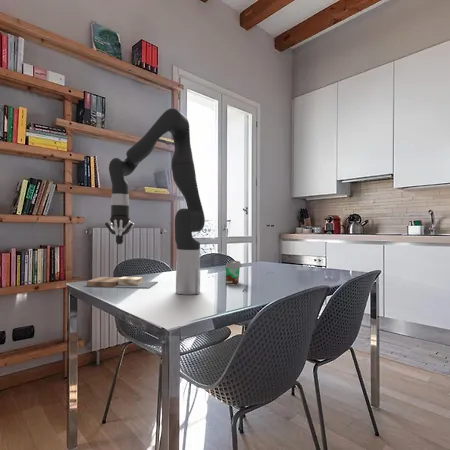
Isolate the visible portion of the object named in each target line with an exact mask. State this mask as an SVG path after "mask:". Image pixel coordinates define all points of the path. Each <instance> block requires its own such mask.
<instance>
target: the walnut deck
mask: <svg viewBox="0 0 450 450" xmlns="http://www.w3.org/2000/svg"><path fill="white" fill-rule="evenodd" d="M119 278H121V277H120V276H119V277H116V276H113V277H111V276H98V277H95V278H93V279H89V280H87V281H86V287H100V288H101V287H105V288H116V287H115V286H117V285H118V279H119Z"/></svg>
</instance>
